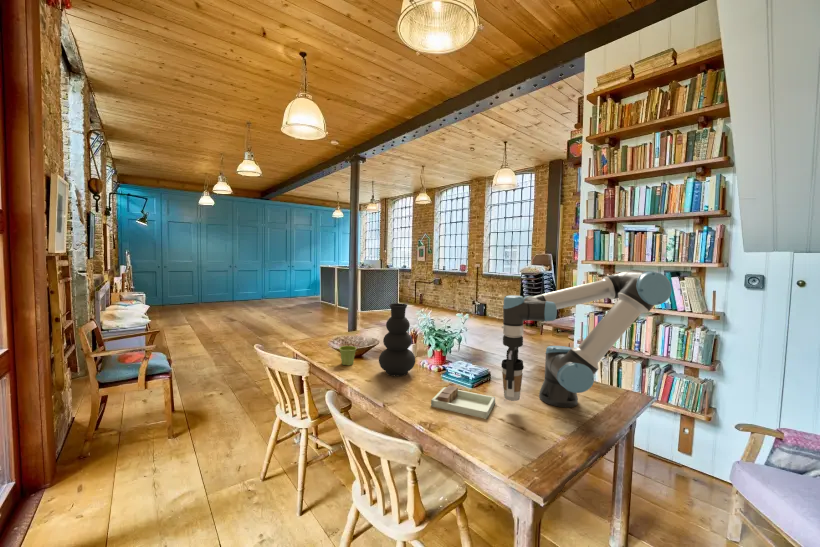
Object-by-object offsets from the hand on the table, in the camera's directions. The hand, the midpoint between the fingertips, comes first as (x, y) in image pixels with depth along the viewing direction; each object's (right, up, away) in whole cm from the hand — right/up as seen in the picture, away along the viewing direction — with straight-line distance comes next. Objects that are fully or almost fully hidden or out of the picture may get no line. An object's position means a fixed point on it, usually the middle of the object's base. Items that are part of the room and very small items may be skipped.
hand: (511, 392), depth 137 cm
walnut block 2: (-25, -5, +6) cm, 26 cm away
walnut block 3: (-23, -5, +9) cm, 25 cm away
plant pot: (-74, -2, +51) cm, 90 cm away
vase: (-47, -4, +39) cm, 61 cm away
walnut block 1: (-27, -6, +1) cm, 27 cm away
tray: (-19, -7, +2) cm, 20 cm away
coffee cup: (0, -2, 0) cm, 2 cm away
